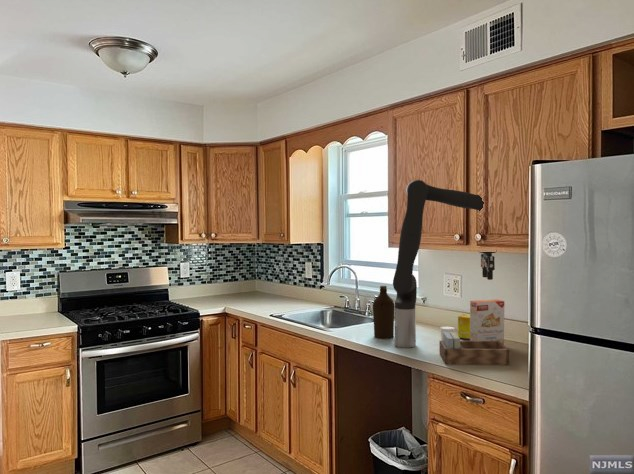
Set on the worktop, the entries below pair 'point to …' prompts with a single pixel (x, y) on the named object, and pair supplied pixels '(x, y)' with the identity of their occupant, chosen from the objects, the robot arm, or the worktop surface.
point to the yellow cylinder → (464, 327)
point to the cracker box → (487, 320)
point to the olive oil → (383, 315)
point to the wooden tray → (476, 353)
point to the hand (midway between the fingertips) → (487, 278)
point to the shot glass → (446, 330)
